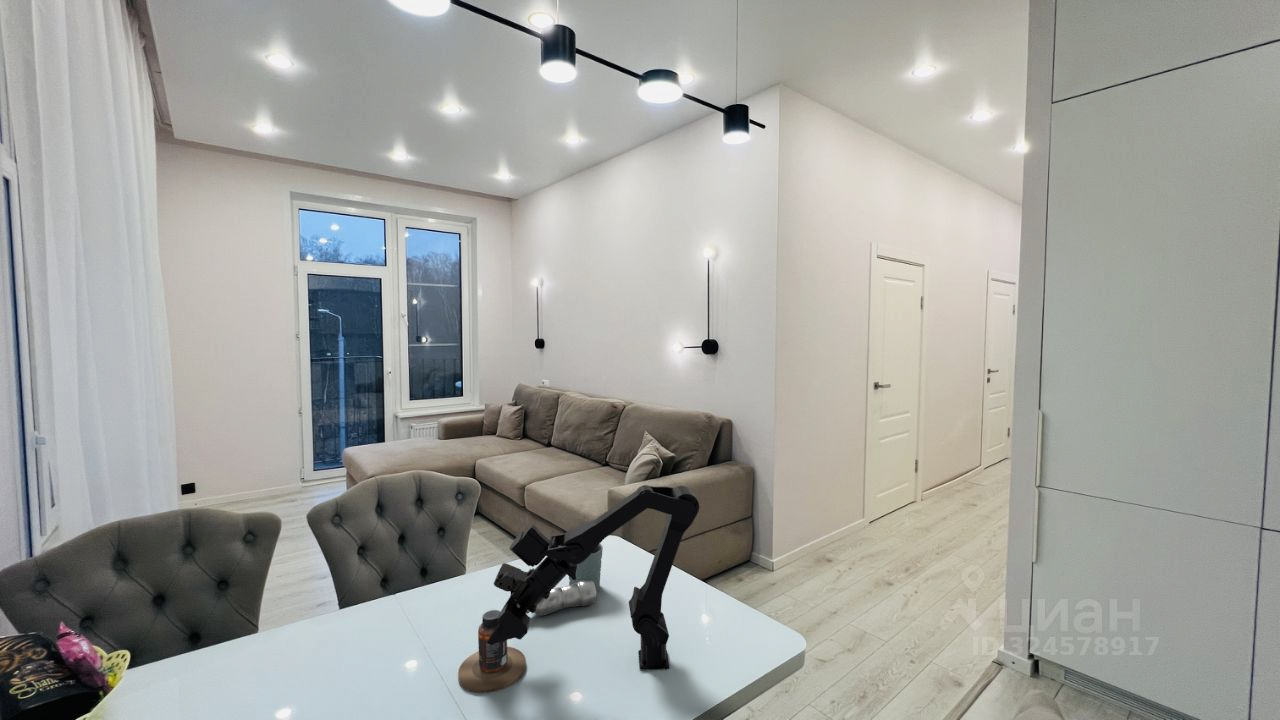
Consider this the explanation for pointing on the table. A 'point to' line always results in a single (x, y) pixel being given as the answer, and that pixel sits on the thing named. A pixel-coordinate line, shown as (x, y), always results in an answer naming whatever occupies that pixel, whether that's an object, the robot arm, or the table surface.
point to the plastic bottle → (568, 597)
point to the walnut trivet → (490, 682)
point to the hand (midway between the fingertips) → (494, 630)
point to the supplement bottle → (495, 654)
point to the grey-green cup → (590, 568)
